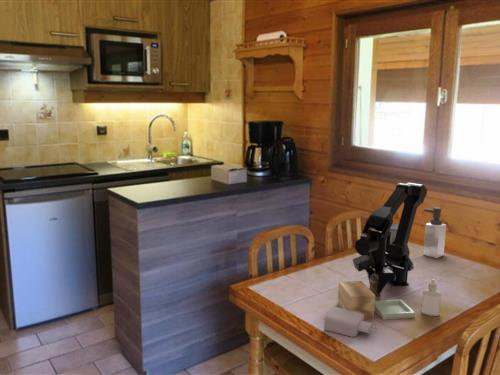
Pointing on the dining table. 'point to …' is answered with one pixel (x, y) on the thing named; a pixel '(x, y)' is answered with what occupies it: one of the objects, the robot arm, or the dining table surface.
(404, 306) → the green tray
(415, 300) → the dining table surface
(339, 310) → the grey plastic bottle
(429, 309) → the eye dropper bottle
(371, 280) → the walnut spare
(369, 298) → the pine unit
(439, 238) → the soap dispenser
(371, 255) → the robot arm
